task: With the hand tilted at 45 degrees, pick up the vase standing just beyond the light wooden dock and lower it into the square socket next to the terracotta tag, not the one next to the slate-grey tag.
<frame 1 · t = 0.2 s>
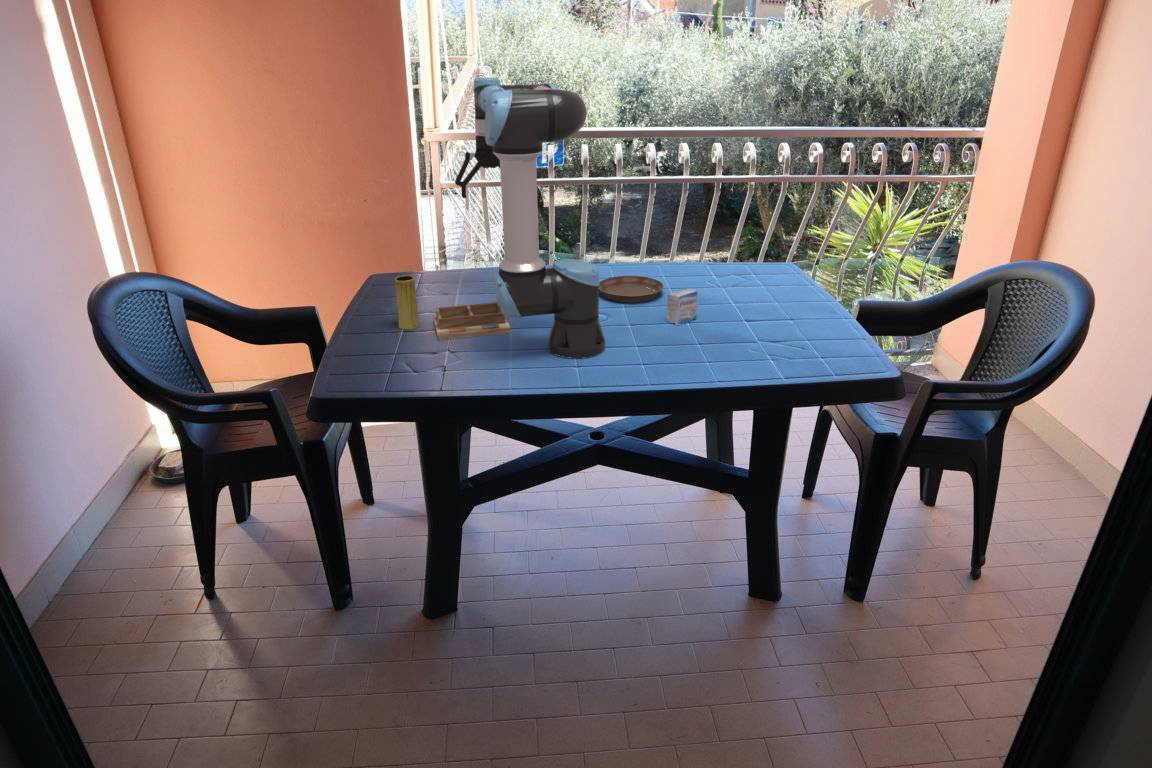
hand: (490, 209, 235), 27 cm above the table, tool pointing down, fingers open, 13 cm apart
plant saucer: (630, 295, 247), on the table
vase: (409, 326, 224), on the table
dock: (471, 327, 222), on the table
medicine box: (681, 321, 226), on the table
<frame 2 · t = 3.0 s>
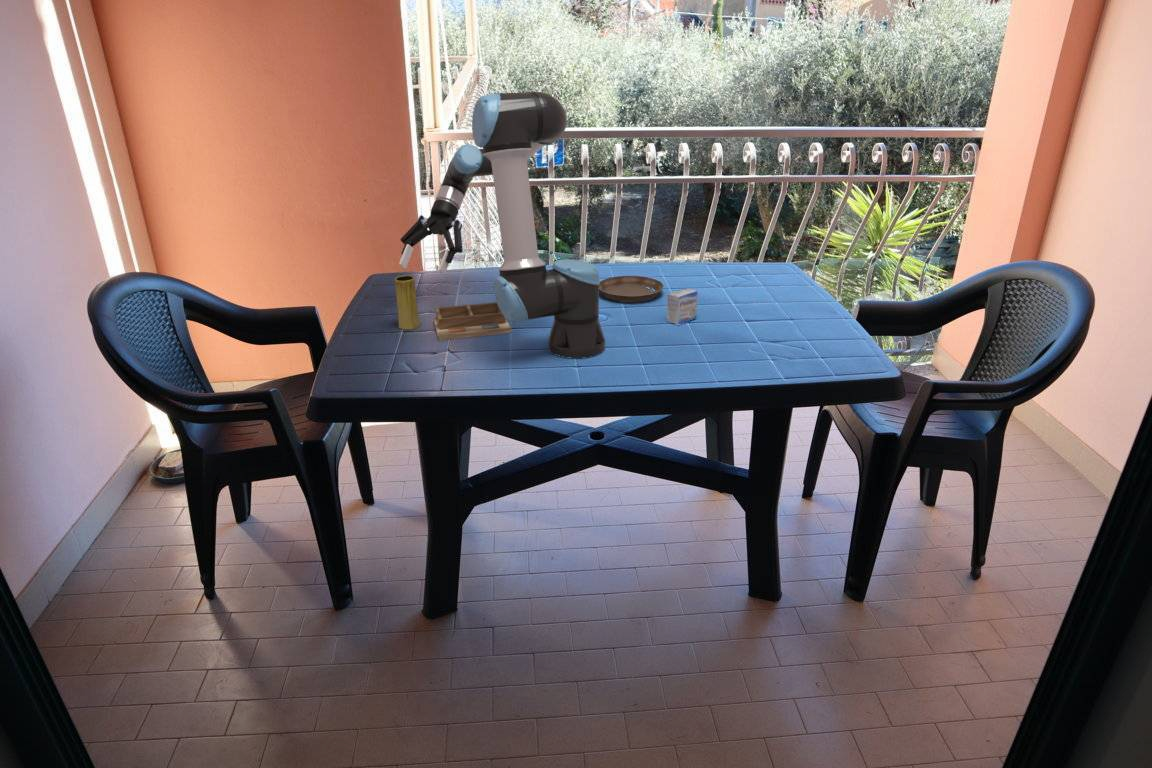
hand: (421, 269, 225), 14 cm above the table, tool tilted 45°, fingers open, 13 cm apart
nothing on the table moved.
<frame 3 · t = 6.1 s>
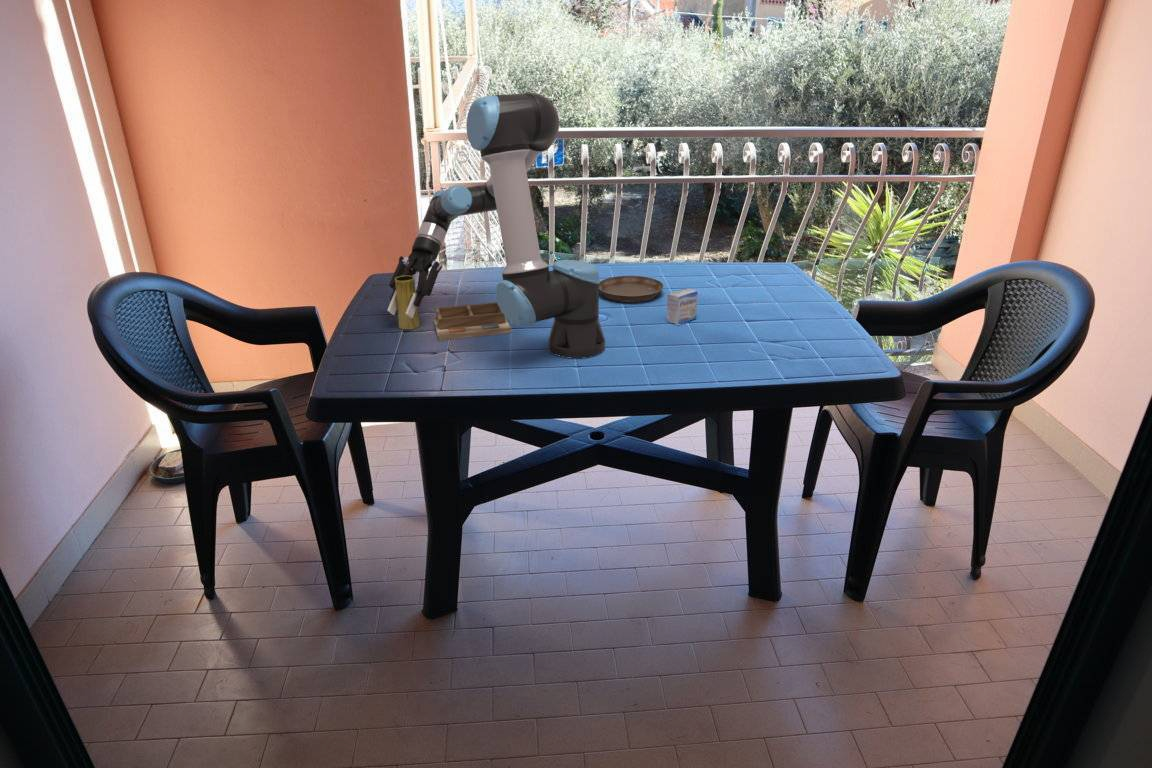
hand: (399, 314, 219), 5 cm above the table, tool tilted 45°, fingers closed on vase, 5 cm apart
vase: (409, 326, 224), on the table, touching gripper
everything else where it was.
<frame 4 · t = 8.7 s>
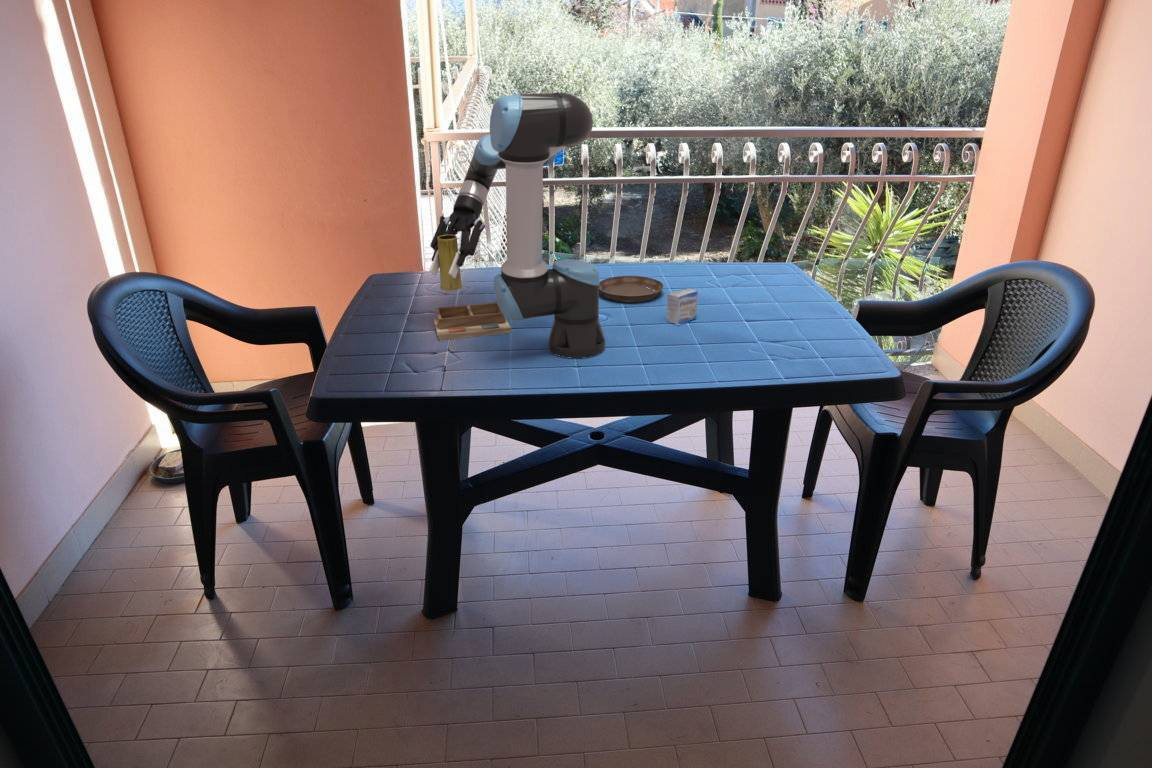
hand: (442, 274, 212), 17 cm above the table, tool tilted 45°, fingers closed on vase, 5 cm apart
vase: (451, 288, 217), point 12 cm above the table, touching gripper
everything else where it was.
when the fingers open (8 cm above the table, at t = 11.1 s): vase drops 1 cm, resting on dock.
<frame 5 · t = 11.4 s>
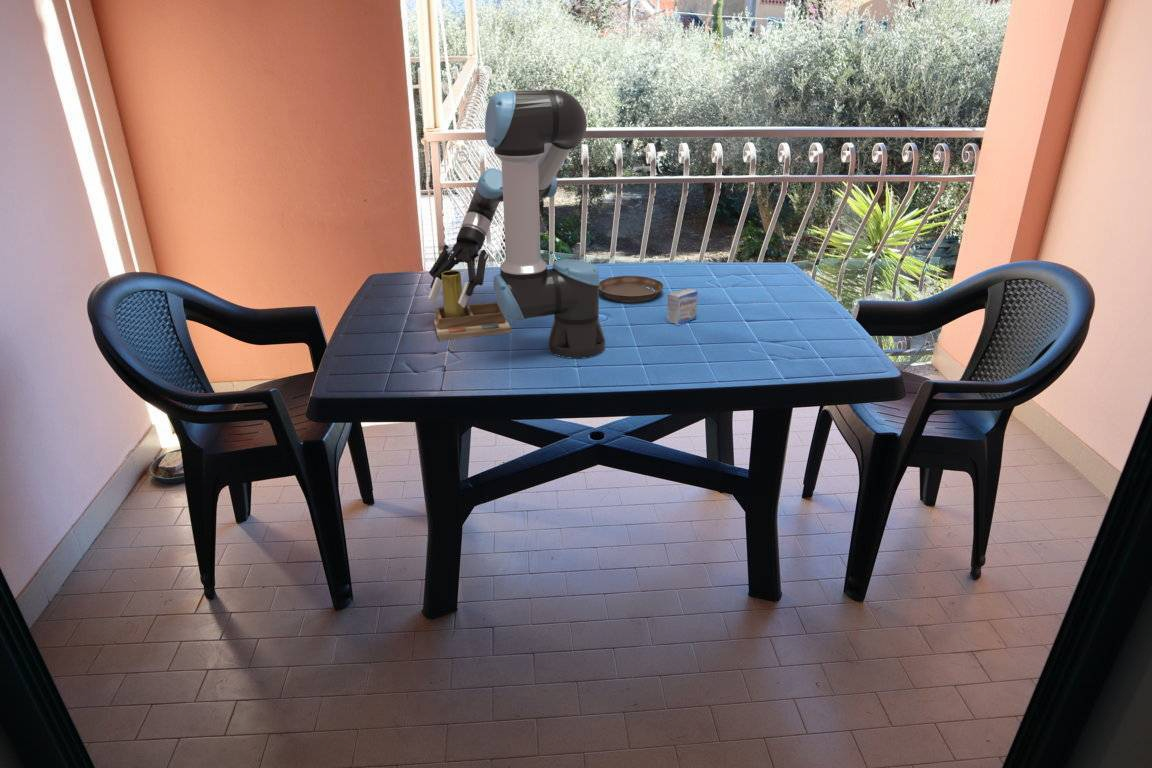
hand: (446, 302, 216), 8 cm above the table, tool tilted 45°, fingers open, 9 cm apart
vase: (455, 322, 222), point 1 cm above the table, touching dock
everything else where it was.
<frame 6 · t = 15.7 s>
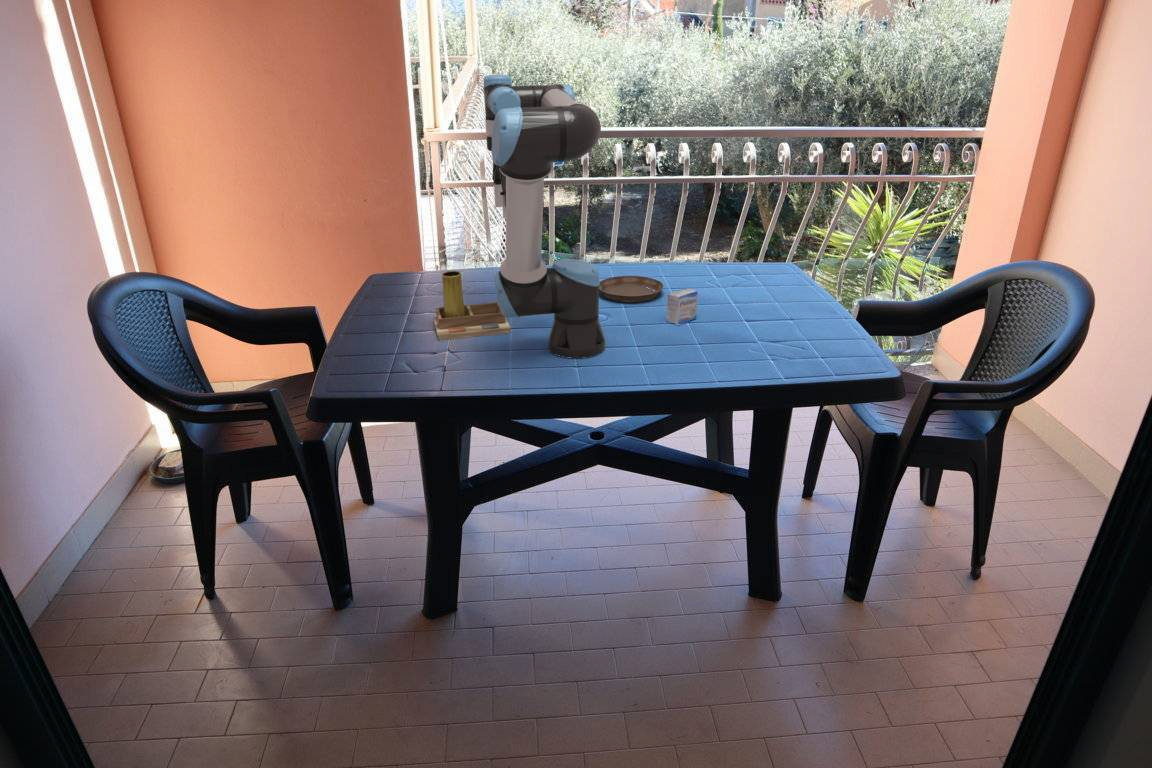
hand: (503, 212, 225), 29 cm above the table, tool pointing down, fingers open, 13 cm apart
nothing on the table moved.
at the end: vase 0.2 cm from the target spot on the dock, point 1.3 cm above the dock's base; vase tilted 0°; the gripper is holding nothing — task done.
